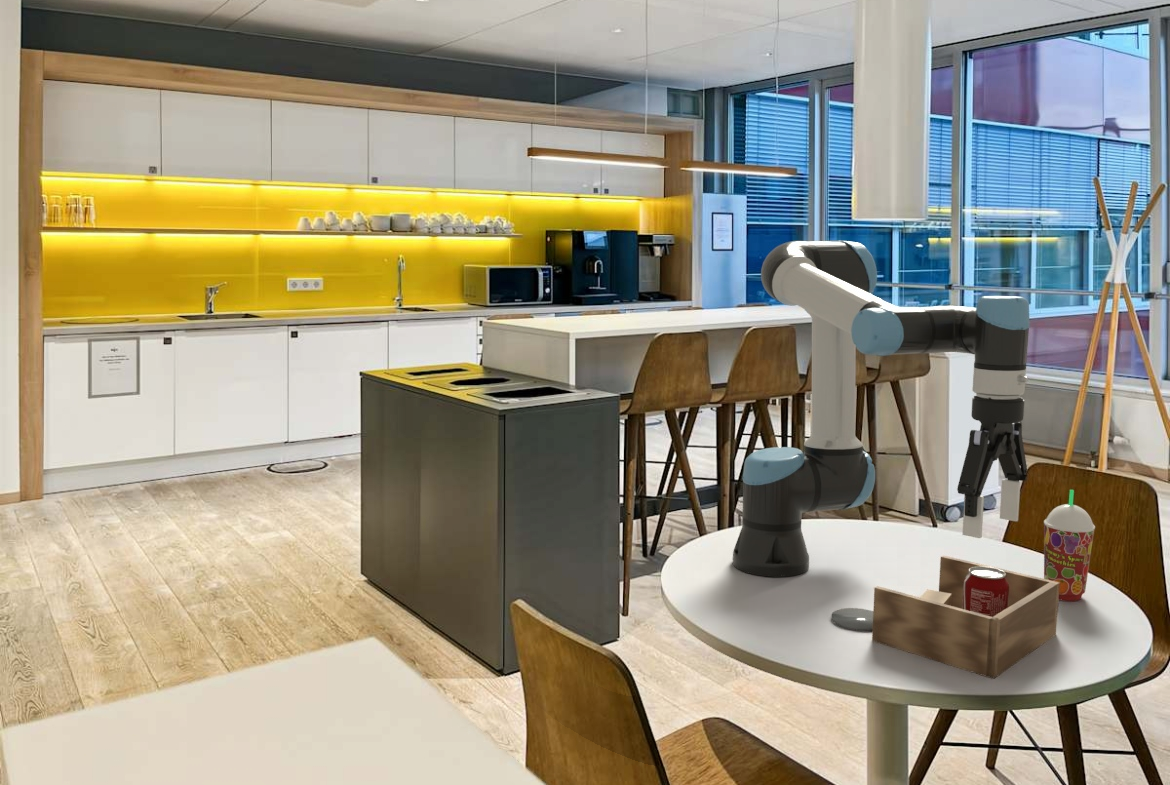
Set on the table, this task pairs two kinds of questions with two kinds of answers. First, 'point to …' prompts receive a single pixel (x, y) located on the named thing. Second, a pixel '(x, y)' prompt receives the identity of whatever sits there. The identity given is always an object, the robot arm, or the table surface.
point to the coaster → (853, 619)
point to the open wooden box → (968, 621)
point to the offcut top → (938, 596)
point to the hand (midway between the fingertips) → (990, 527)
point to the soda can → (985, 591)
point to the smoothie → (1068, 549)
